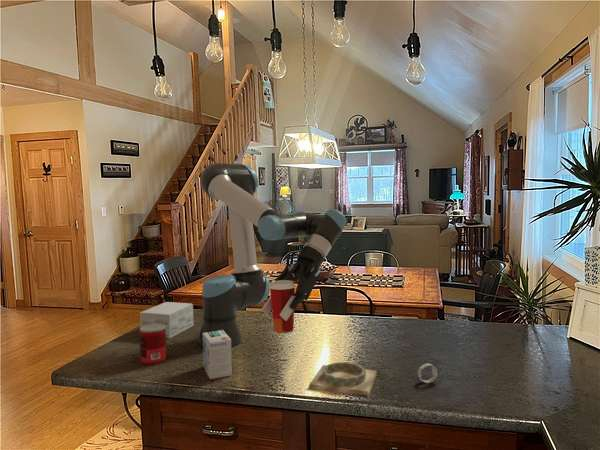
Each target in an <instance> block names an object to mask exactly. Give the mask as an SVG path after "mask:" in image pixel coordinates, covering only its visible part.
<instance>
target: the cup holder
mask: <svg viewBox="0 0 600 450" xmlns="http://www.w3.org/2000/svg"><path fill="white" fill-rule="evenodd" d="M377 373H378V371H377V370H374V369H366V368H364V367H363V366H362V365H360V364H357V363H353V362H345V361H342V362H339V361H338V362H333V363H330V364H326V365H325V364H322V365H321V367H320V368H319V370H318V371H317V372H316V374H315V375H314V377H313V378H312V380H311V381H310V383H309V386H308V387H309V389H311V390H318V391H326V392H335V393H341V394H342V393H345V394H350V395H359V396H365V397H366V396H367V397H369V396H370V393H371V391H372V390H373V389H372V388H373V386H374V383H375V380H376V377H377Z"/></svg>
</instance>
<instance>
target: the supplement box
mask: <svg viewBox="0 0 600 450" xmlns="http://www.w3.org/2000/svg"><path fill="white" fill-rule="evenodd" d="M139 319H140V320H139V321H140V327H142V326H144V325H148V324H164V325H165V329H166V339H171V338H173V337H175V336H176V335H179V334H181V333H182V332H185V331H186V330H189V329H190V328H192V327H194V324H195V323H194V322H195V321H194V304H193V303H190V302H189V303H188V302H176V301H175V302H172V301H171V302H170V301H165V302H163V303H160V304H158V305H155V306H152V307H150V308H148V309H145V310H143V311H141V312H139Z"/></svg>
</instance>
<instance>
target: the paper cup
mask: <svg viewBox="0 0 600 450" xmlns="http://www.w3.org/2000/svg"><path fill="white" fill-rule="evenodd" d="M268 288H270V291H269V294H270V295H271V304H272V310H271V312H272V313H271V314H272V323H273V331H274V333H278V334H289V333H291V332H293V331H294V326H295V325H294V322H295V319H294V318H295V310H293V312H292V313H291V315H290V316H289V318H288V320H287V321H285V320H284V319H283V318H282V317H281V316H280V313H281V312H282V310H283V308H284V307H285V305H286V304H287V302H288V301H289V299H290V298H291V296H294V295H293V294H294V293H295V292H296V288H297V286H296V284H295V281H294V282H293V281H290V280H278V281H275V280H274V281H270V286H269V287H268ZM294 297H295V296H294Z"/></svg>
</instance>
